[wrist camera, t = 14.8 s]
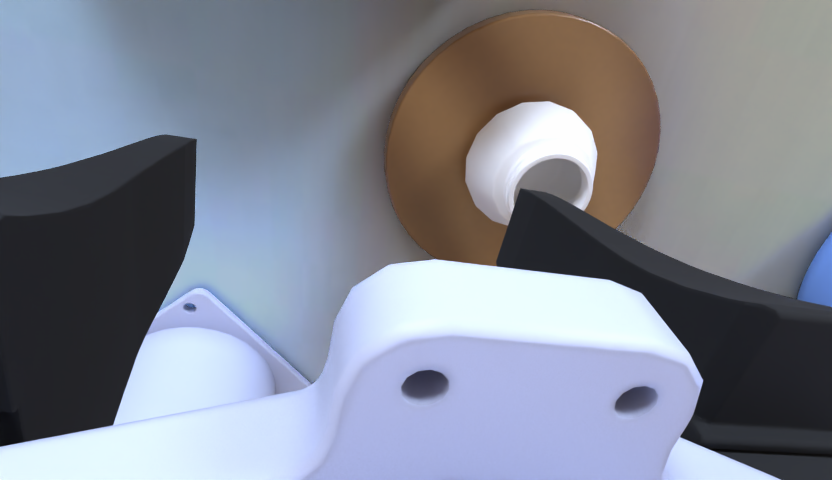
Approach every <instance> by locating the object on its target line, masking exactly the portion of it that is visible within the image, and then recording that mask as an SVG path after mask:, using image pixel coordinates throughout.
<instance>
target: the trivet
mask: <svg viewBox="0 0 832 480" xmlns="http://www.w3.org/2000/svg"><path fill="white" fill-rule="evenodd" d="M545 101H550V102H552V103H555V104H557V105H560V106H563V107H565V108H568V109H570V110H572V111H574V112H575V113H576V114H577V115H578V116H579V118H580V119H581V120H582V121H583V122H584V123H585V124H586V125H587V126H588V128H589V129H590V130H591V131H592V135H593V139H594V142H595V146H596V150H597V161H596V169H595V176H594V182H593V191H592V196H591V199H590V201H589V203H588V205H587V207H586V209H585V210H584V211H585V212H586V213H588V214H590V215H592V216H593V217H595V218H597V219H598V220H600V221H602V222H604V223H605V224H607V225H609V226H611V227H612V228H614V229H616V228H617V227H618V226H619V225H620V224H621V223H622V222H623V220H624V219H625V218H626V217H627V216H628V214H629V213H630V212H631V211H632V209H633V208H634V206H635V205H636V203H637V202H638V200H639V199H640V197H641V195H642V193H643V191H644V189H645V187H646V185H647V183H648V181H649V179H650V176H651V174H652V171H653V168H654V165H655V161H656V157H657V153H658V149H659V141H660V111H659V105H658V99H657V95H656V92H655V89H654V86H653V83H652V80H651V78H650V76H649V74H648V72H647V70H646V68H645V66H644V65H643V64H642V62H641V61H640V59H639V58H638V57H637V55H636V54H635V52H634V51H633V50H632V49H631V48H630V47H629V46H628V45H627V44H626V43H625V42H624V41H623V40H621V39H620V38H619V37H617V36H616V35H614V34H613V33H612V32H610V31H609V30H607V29H605V28H603V27H601V26H599V25H597V24H595V23H593V22H591V21H589V20H587V19H585V18H582V17H578V16H575V15H572V14H569V13H564V12H557V11H551V10H524V11H517V12H510V13H506V14H502V15H499V16H495V17H492V18H488V19H486V20H483V21H481V22H479V23H477V24H474V25H472V26H470V27H468V28H466V29H464V30H463V31H461V32H460V33H458V34H456V35H455V36H453V37H451V38H450V39H449V40H447V41H446V42H445V43H444V44H442V45H441V46H440V47H438V48H437V49H436V50H435V51H434V52H433V53H432V54H431V55H430V56H429V57H428V58H427V59H426V60H425V61H424V62H423V63H422V64H421V65H420V66H419V68H418V69H417V70H416V71H415V73H414V74H413V75H412V77H411V78H410V79H409V81H408V82H407V84H406V86H405V87H404V89H403V91H402V93H401V94H400V96H399V98H398V100H397V103H396V105H395V107H394V110H393V112H392V115H391V118H390V122H389V125H388V129H387V133H386V140H385V148H384V170H385V176H386V183H387V188H388V193H389V196H390V199H391V203H392V206H393V208H394V210H395V212H396V215H397V217H398V219H399V221H400V222H401V224H402V225H403V227H404V228H405V230H406V231H407V233H408V234H409V235H410V236H411V238H412V239H413V240H414V241H415V242H416V243H417V244H418V245H419V246H420V247H421V248H422V249H424V250H425V251H426V252H427V253H428V254H430V255H431V256H433V257H434V258H436V259H437V260H445V261H454V262H462V263H470V264H479V265H487V266H496V267H497V265H496V260H497V257H498V254H499V251H500V248H501V245H502V242H503V239H504V236H505V233H506V230H507V227H508V226H507V225H504V224H501V223H498V222H494V221H492V220H491V219H490V218H489V217H487V216H486V215H485V214H484V213H483V212H482V211H481V210H480V209H478V208H477V207H476V206H475V203H474V201H473V199H472V196H471V194H470V192H469V189H468V187H467V184H466V182H465V175H466V157H467V155H468V152H469V150H470V148H471V146H472V144H473V142H474V139H475V137H476V135H477V133H478V132H479V131H480V130H481V129H482V128H483V127H484V126H485V125H486V124H487V123H488V122H489V121H491V120H492V119H493V118H494V117H495V116H496V115H497V114H498V113H501V112H503V111H505V110H507V109H509V108H512V107H514V106H516V105H518V104H521V103H524V102H545Z"/></svg>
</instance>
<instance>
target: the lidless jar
mask: <svg viewBox="0 0 832 480" xmlns="http://www.w3.org/2000/svg"><path fill="white" fill-rule="evenodd" d="M596 161H597V150H596V146H595V142H594V139H593V135H592V131H591V130H590V129H589V128H588V126H587V125H586V124H585V123H584V122H583V121H582V120H581V119H580V118H579V116H578V115H577V114H576V113H575V112H574V111H572V110H570V109H568V108H565V107H563V106H560V105H557V104H555V103H552V102H550V101H545V102H524V103H521V104H518V105H516V106H514V107H512V108H509V109H507V110H505V111H503V112H501V113H498V114H497V115H496V116H495V117H494V118H493V119H492V120H491V121H489V122H488V123H487V124H486V125H485V126H484V127H483V128H482V129H481V130H480V131H479V132H478V133H477V135H476V137H475V139H474V142H473V144H472V146H471V148H470V150H469V152H468V155H467V157H466V175H465V182H466V184H467V187H468V189H469V192H470V194H471V196H472V199H473V201H474V203H475V206H476V207H477V208H478V209H480V210H481V211H482V212H483V213H484V214H485V215H486V216H487V217H489V218H490V219H491V220H492V221H494V222H498V223H501V224H504V225H507V226H508V224H509V221H510V218H511V215H512V212H513V209H514V206H515V203H516V200H517V197H518V194H519V191H520V188H522V189H528V190H535V191H542V192H546V193H549V194H552V195H555V196H557V197H559V198H561V199H563V200H565V201H567V202H569V203H571V204H572V205H574V206H576V207H578V208H579V209H581V210H583V211H584V210H585V209H586V207H587V205H588V203H589V201H590V199H591V196H592V191H593V182H594V176H595V169H596Z"/></svg>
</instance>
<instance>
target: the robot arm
mask: <svg viewBox="0 0 832 480" xmlns="http://www.w3.org/2000/svg"><path fill="white" fill-rule="evenodd" d="M196 142H197V139H192V138H185V137H178V136H172V135H159V136H155V137H151V138H148V139H145V140H142V141H139V142H136V143H133V144H130V145H127V146H124V147H121V148H119V149H116V150H113V151H110V152H107V153H104V154H101V155H97V156H94V157H91V158H87V159H84V160H80V161H77V162H74V163H70V164H67V165H63V166H59V167H55V168H51V169H46V170H42V171H37V172H31V173H26V174H21V175H15V176H9V177H3V178H0V480H832V307H830V306H825V305H820V304H815V303H811V302H806V301H801V300H797V299H793V298H789V297H785V296H782V295H778V294H774V293H770V292H767V291H763V290H759V289H756V288H753V287H750V286H746V285H743V284H740V283H737V282H734V281H731V280H728V279H725V278H722V277H719V276H717V275H714V274H711V273H708V272H705V271H703V270H700V269H697V268H695V267H692V266H690V265H687V264H685V263H683V262H681V261H678V260H676V259H674V258H671V257H669V256H667V255H664V254H662V253H660V252H658V251H656V250H654V249H652V248H650V247H648V246H646V245H644V244H642V243H640V242H638V241H636V240H634V239H632V238H630V237H629V236H627V235H625V234H623V233H621V232H619V231H618V230H616V229H614V228H612V227H611V226H609V225H607V224H605V223H604V222H602V221H600V220H598V219H597V218H595V217H593V216H592V215H590V214H588V213H586V212H585V211H583V210H581V209H579V208H578V207H576V206H574V205H572V204H571V203H569V202H567V201H565V200H563V199H561V198H559V197H557V196H555V195H552V194H549V193H546V192H542V191H535V190H528V189H522V188H520V191H519V194H518V197H517V200H516V203H515V206H514V209H513V212H512V215H511V218H510V221H509V224H508V227H507V230H506V233H505V236H504V239H503V242H502V245H501V248H500V251H499V254H498V257H497V260H496V265H497V267H496V266H487V265H479V264H470V263H462V262H454V261H445V260H437V259H434V260H425V261H415V262H406V263H397V264H389V265H388V266H386V267H385V268H383V269H381V270H380V271H378V272H377V273H375V274H373V275H372V276H370V277H368V278H367V279H365V280H364V281H362V282H360V283H359V284H357V285H355V286H354V287H352V289H351V291H350V293H349V295H348V297H347V298H346V300H345V302H344V304H343V306H342V308H341V310H340V311H339V313H338V315H337V317H336V319H335V321H334V326H333V332H332V337H331V343H330V348H329V354H328V359H327V361H326V364H325V367H324V370H323V372H322V374H321V375H320V377H319V378H318V379H317V380H316V382H315V383H313V384H311V383H310V382H309V381H308V380H307V379H306V378H304V377H303V376H302V375H301V374H300V373H299V372H298V371H297V370H296V369H295V368H293V367H292V366H291V365H290V364H289V363H288V362H287V361H286V360H285V359H283V358H282V357H281V356H280V355H279V354H278V353H277V352H276V351H275V350H273V349H272V348H271V347H270V346H269V345H268V344H267V343H266V342H265V341H263V340H262V339H261V338H260V337H259V336H258V335H257V334H256V333H255V332H253V331H252V330H251V329H250V328H249V327H248V326H247V325H246V324H245V323H243V322H242V321H241V320H240V319H239V318H238V317H237V316H236V315H235V314H233V313H232V312H231V311H230V310H229V309H228V308H227V307H226V306H225V305H224V304H222V303H221V302H220V301H219V300H218V299H217V298H216V297H215V296H214V295H212V294H211V293H210V292H209V291H207V290H206V289H202V288H195V289H193V290H191V291H190V292H188V293H186V294H185V295H183V296H182V297H180V298H179V299H177V300H176V301H174V302H173V303H171V304H170V305H168V306H167V307H165V308H164V309H162V310H161V311H159V309H160V307H161V305H162V303H163V301H164V299H165V297H166V295H167V293H168V291H169V289H170V287H171V285H172V283H173V281H174V279H175V277H176V275H177V273H178V271H179V269H180V267H181V265H182V263H183V260H184V257H185V254H186V251H187V248H188V245H189V242H190V238H191V235H192V232H193V228H194V221H195V181H196ZM187 303H191V304H193V305H195V307H194V308H192V307H188V306H187V305H186V304H187ZM158 311H159V312H158ZM157 312H158V313H157Z"/></svg>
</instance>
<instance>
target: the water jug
mask: <svg viewBox="0 0 832 480" xmlns="http://www.w3.org/2000/svg"><path fill="white" fill-rule="evenodd" d="M797 300H801V301H806V302H811V303H815V304H820V305H825V306H830V307H832V232H831V234H830V235H829V236H828V237H827V239H826V240H825V242H824V243H823V244H822V246H821V247H820V249H819V250H818V252H817V254H816V255H815V257H814V259H813V260H812V262H811V264H810V266H809V268H808V270H807V272H806V274H805V276H804V279H803V281H802V284H801V287H800V290H799V293H798V297H797Z"/></svg>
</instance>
